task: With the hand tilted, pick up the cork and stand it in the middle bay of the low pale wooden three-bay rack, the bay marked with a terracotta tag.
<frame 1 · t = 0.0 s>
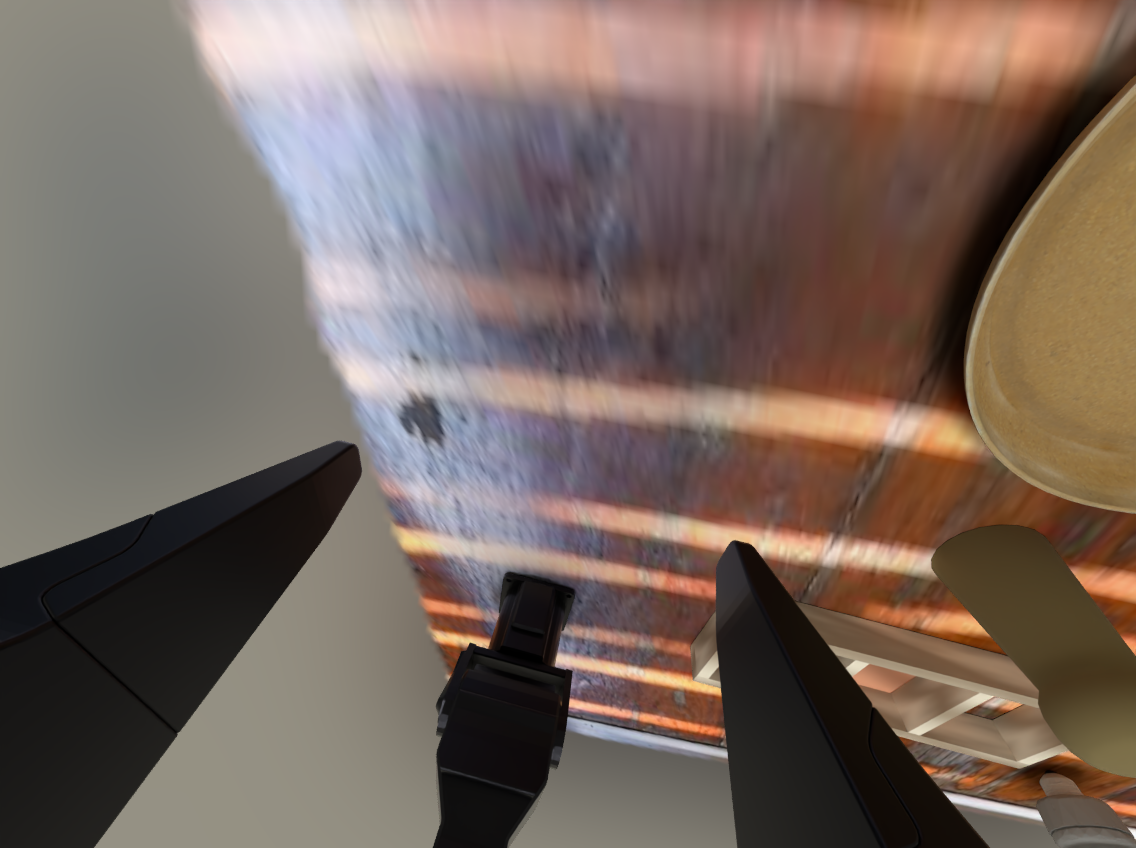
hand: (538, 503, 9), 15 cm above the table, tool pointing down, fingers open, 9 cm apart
light bulb: (1047, 768, 39), on the table
cork: (985, 554, 26), on the table
rack: (873, 661, 34), on the table
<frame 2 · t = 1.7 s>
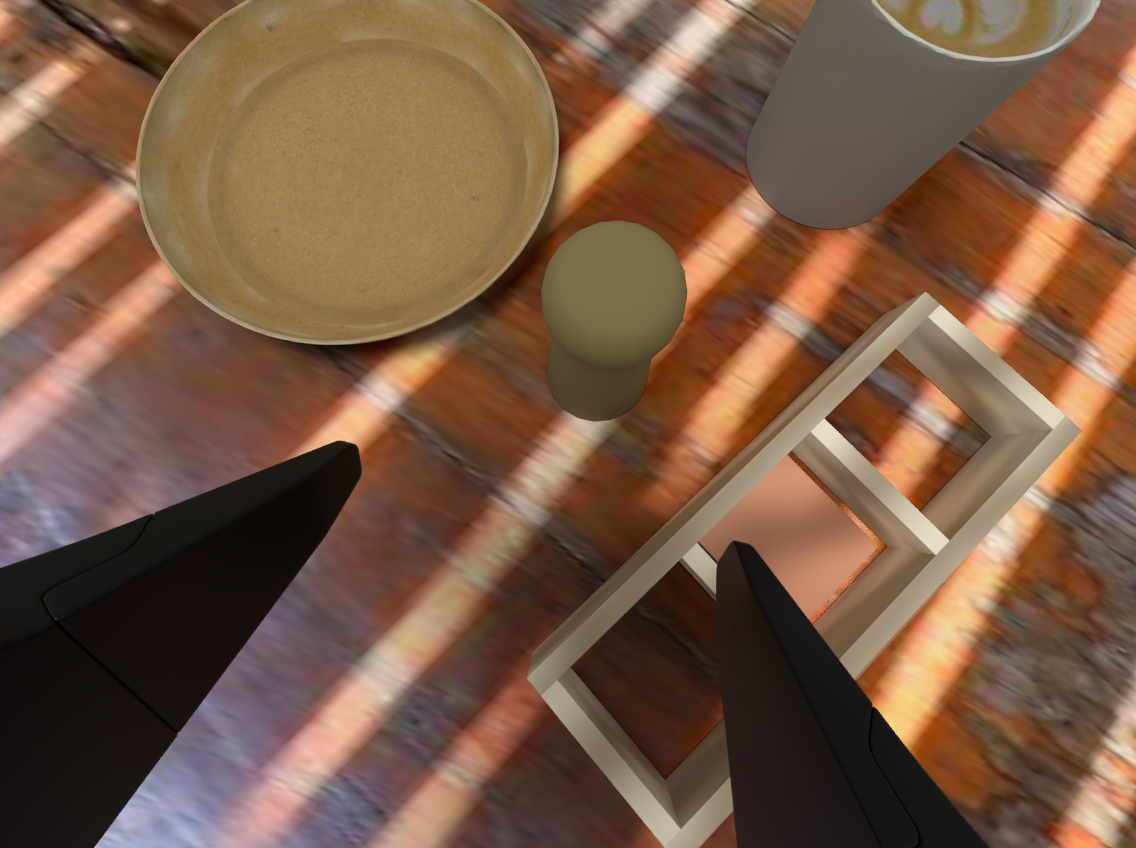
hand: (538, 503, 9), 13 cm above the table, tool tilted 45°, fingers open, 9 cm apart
cork: (596, 371, 24), on the table
coffee mug: (844, 152, 26), on the table
rack: (783, 541, 22), on the table
plant saucer: (376, 185, 26), on the table
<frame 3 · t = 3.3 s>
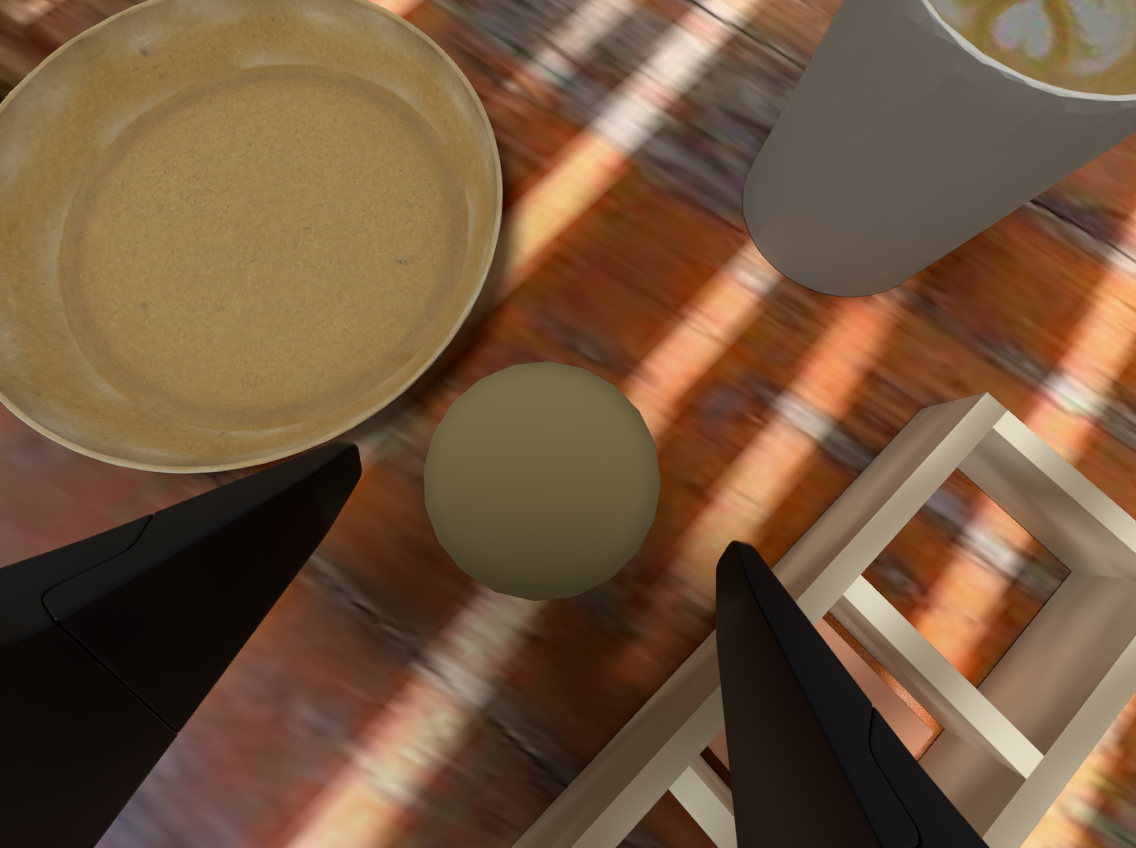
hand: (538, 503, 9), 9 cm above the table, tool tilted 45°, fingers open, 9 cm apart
cork: (556, 487, 18), on the table
coffee mug: (864, 198, 21), on the table
rack: (805, 723, 17), on the table
plant saucer: (281, 244, 21), on the table
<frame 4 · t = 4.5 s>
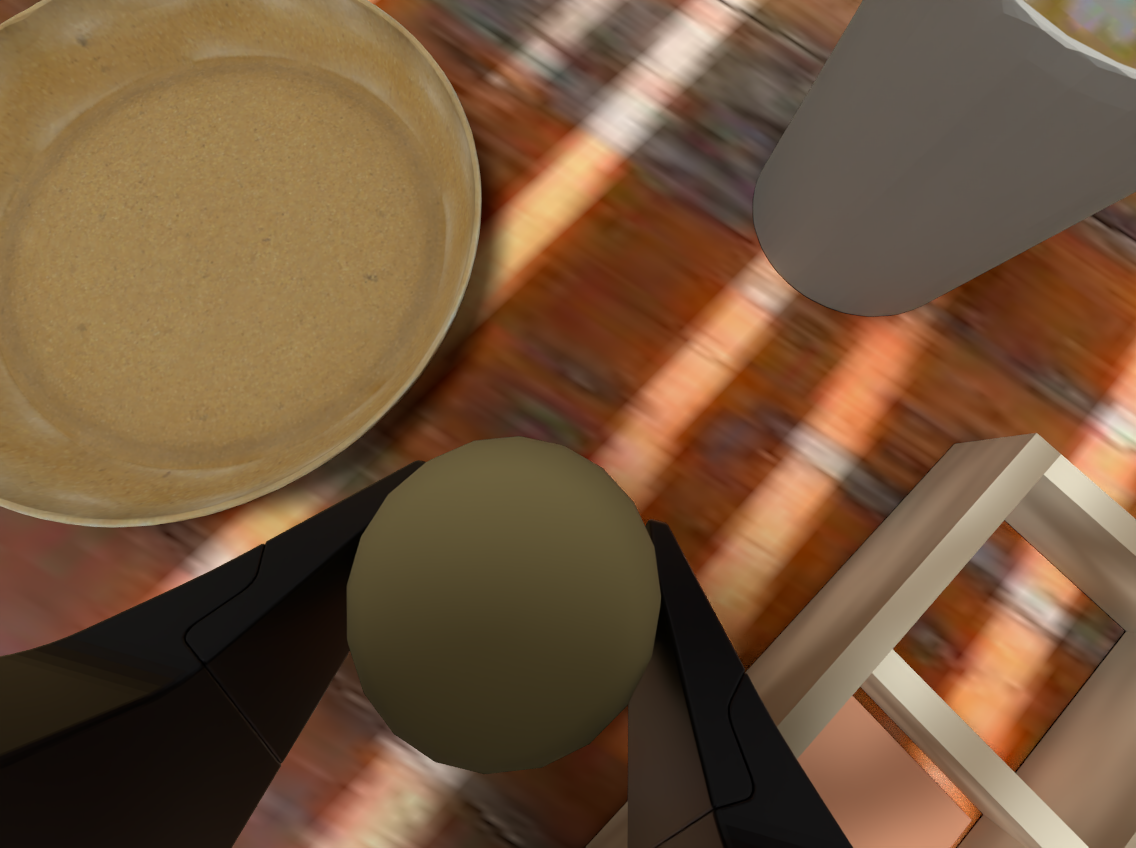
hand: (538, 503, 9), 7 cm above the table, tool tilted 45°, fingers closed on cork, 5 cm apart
cork: (543, 533, 16), on the table, touching gripper
coffee mug: (888, 205, 19), on the table
rack: (825, 807, 15), on the table
plant saucer: (239, 257, 19), on the table
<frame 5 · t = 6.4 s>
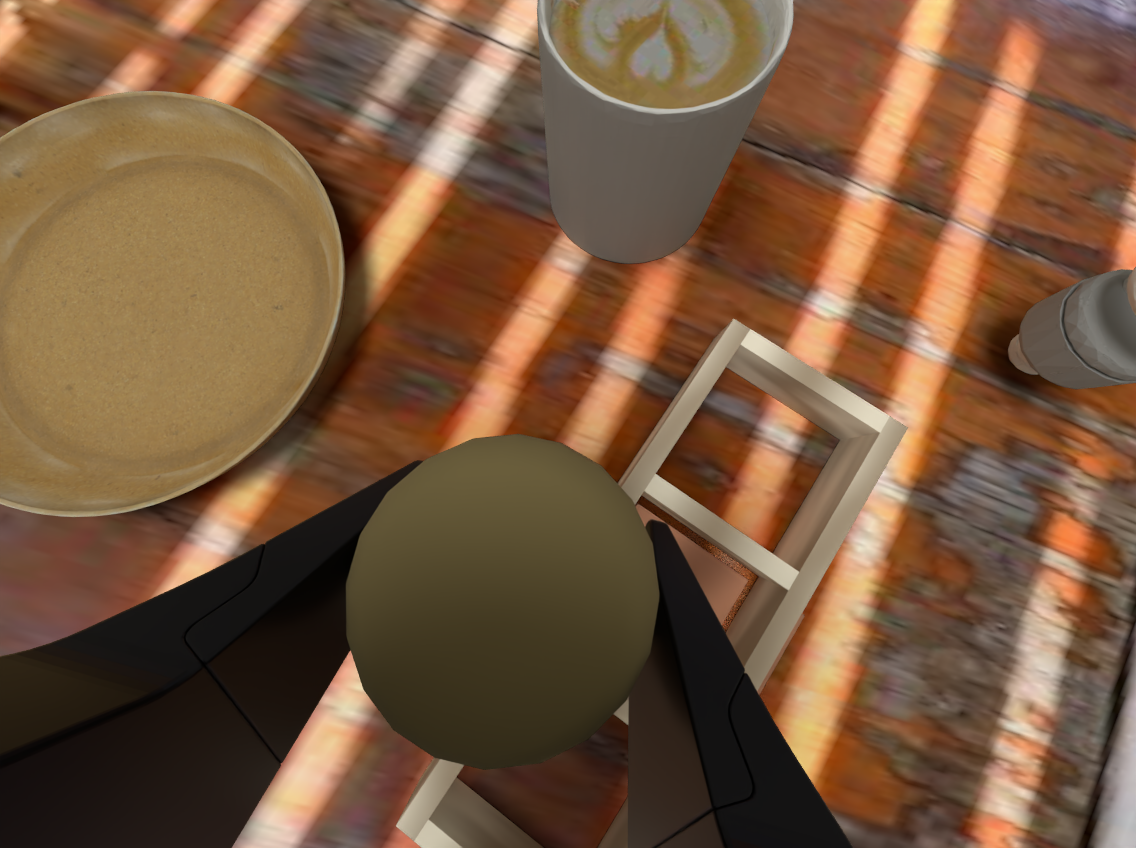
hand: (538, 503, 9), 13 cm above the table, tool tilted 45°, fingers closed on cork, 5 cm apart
light bulb: (1010, 359, 24), on the table
cork: (541, 531, 16), point 6 cm above the table, touching gripper
coffee mug: (649, 178, 26), on the table
rack: (655, 595, 22), on the table
plant saucer: (176, 312, 25), on the table
when the fingers open (9 cm above the table, at t = 8.4 s): cork drops 1 cm, resting on rack.
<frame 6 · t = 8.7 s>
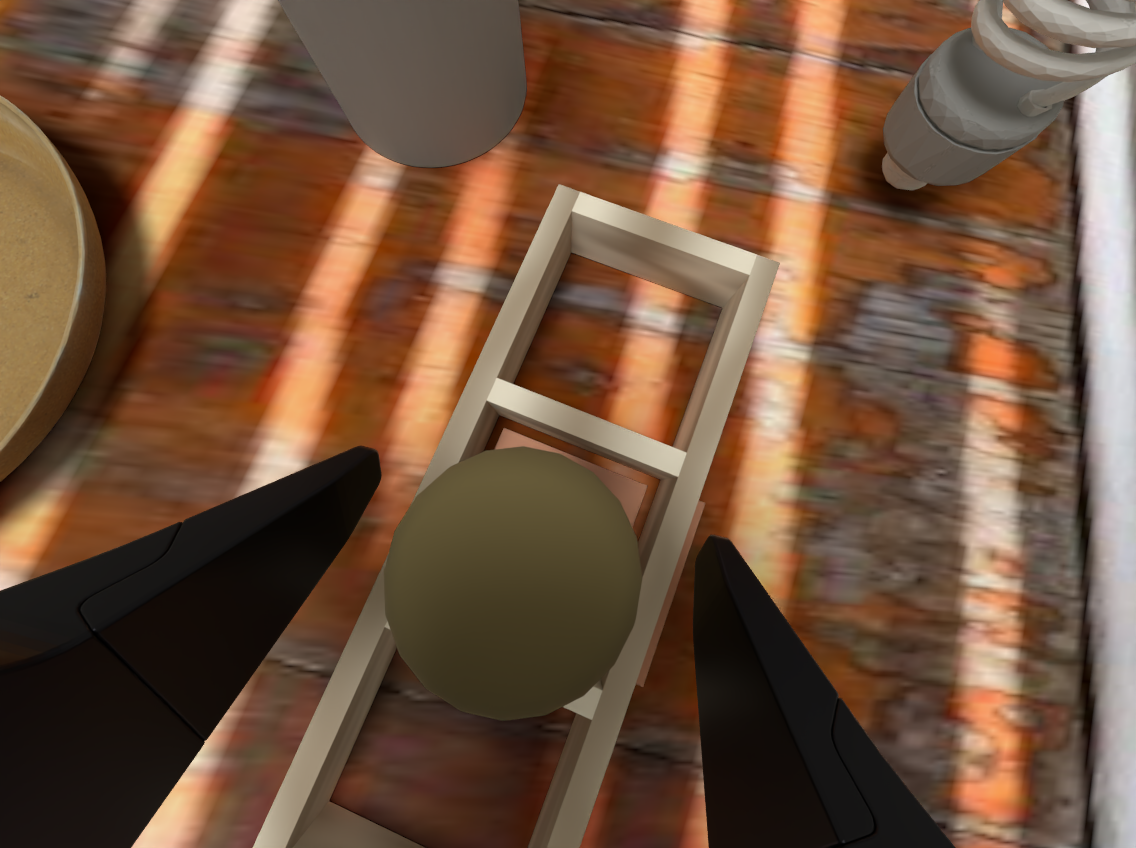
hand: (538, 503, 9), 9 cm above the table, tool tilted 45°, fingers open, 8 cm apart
light bulb: (890, 184, 21), on the table
cork: (543, 531, 18), resting on rack
coffee mug: (458, 72, 22), on the table
rack: (545, 529, 18), on the table
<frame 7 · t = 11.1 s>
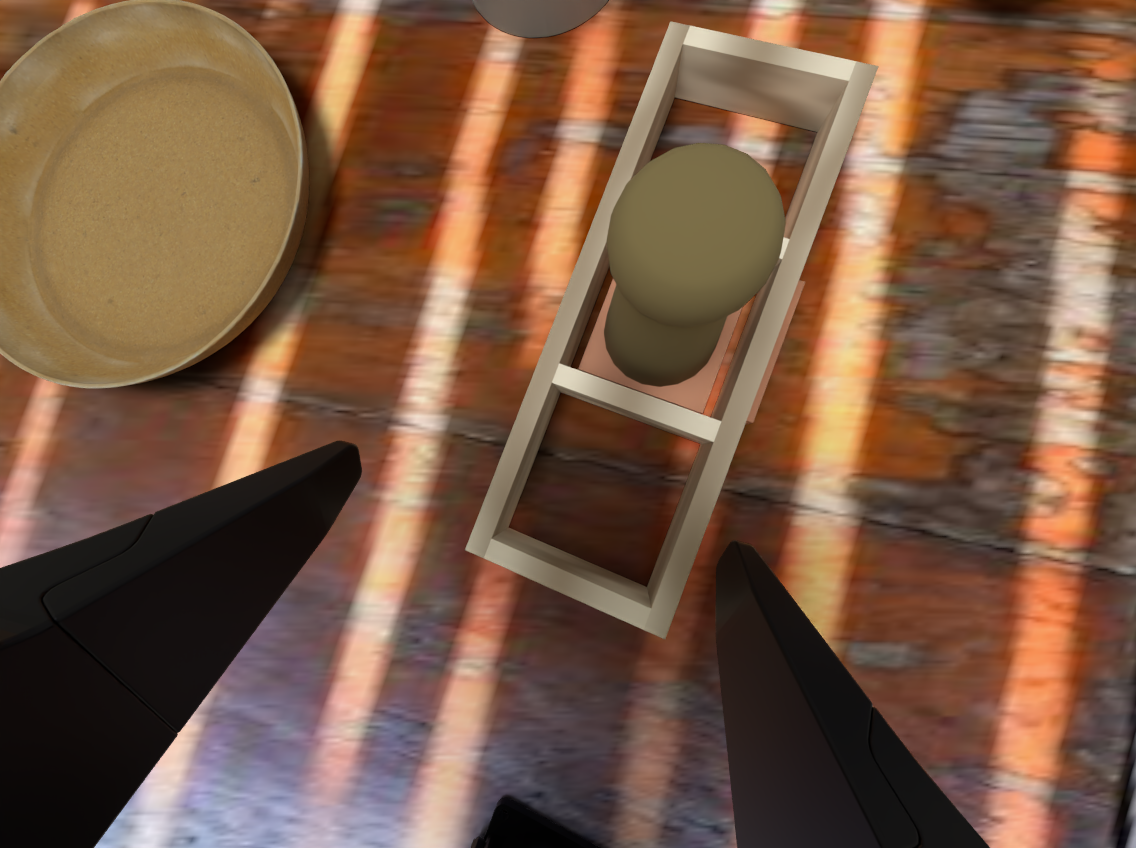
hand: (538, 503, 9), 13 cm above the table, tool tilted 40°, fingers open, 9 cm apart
cork: (659, 332, 22), resting on rack
rack: (661, 331, 22), on the table
plant saucer: (176, 219, 27), on the table
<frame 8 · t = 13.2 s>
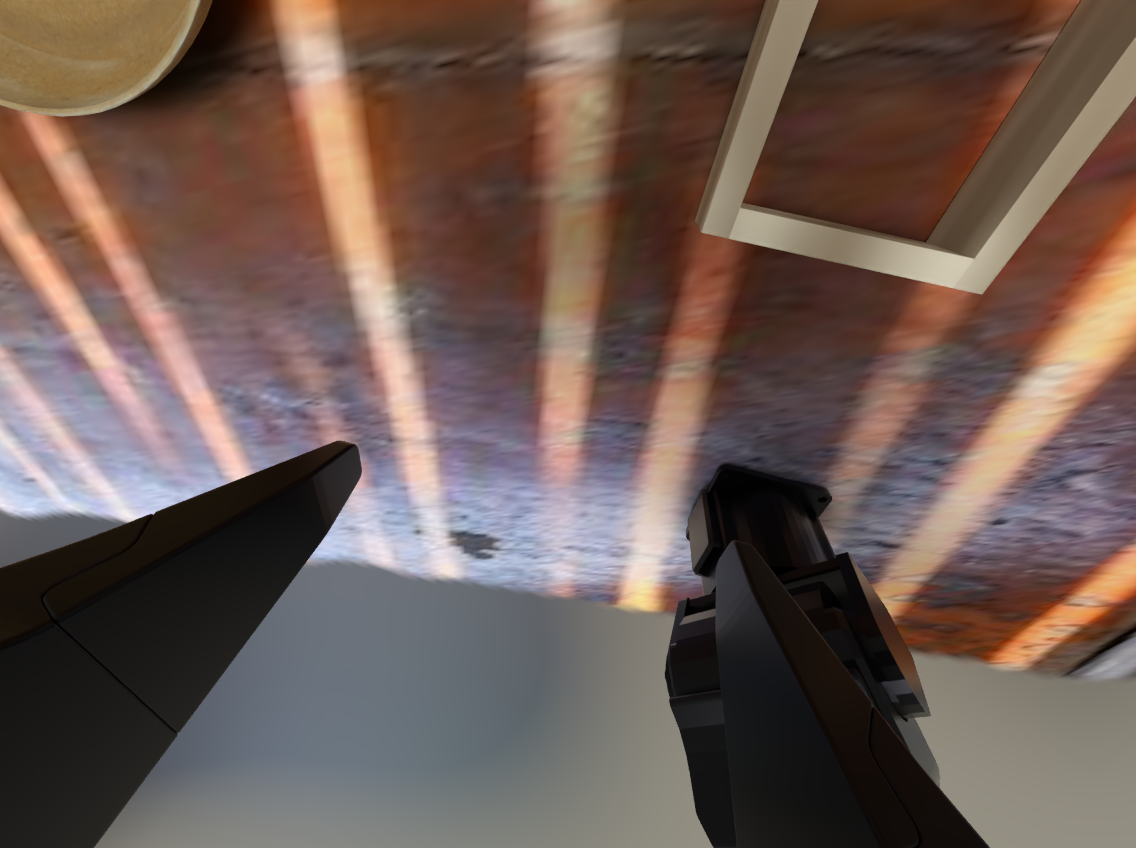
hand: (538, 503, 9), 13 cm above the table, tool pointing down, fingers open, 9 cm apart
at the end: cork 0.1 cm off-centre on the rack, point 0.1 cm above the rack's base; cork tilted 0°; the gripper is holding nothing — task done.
